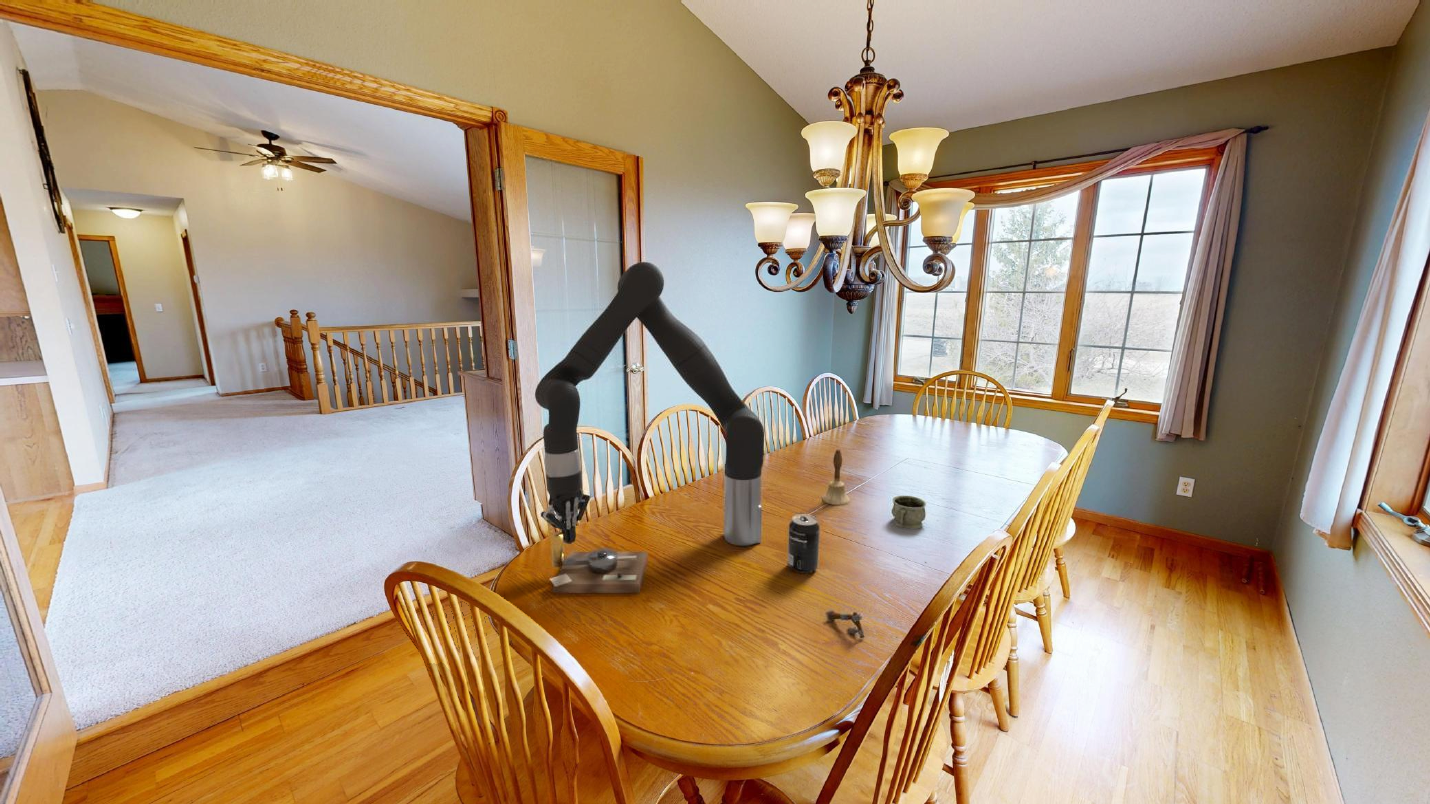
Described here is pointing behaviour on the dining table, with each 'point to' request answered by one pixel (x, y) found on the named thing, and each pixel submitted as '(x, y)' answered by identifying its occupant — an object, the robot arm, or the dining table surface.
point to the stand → (602, 576)
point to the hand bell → (836, 485)
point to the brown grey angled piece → (857, 617)
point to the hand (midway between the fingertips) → (569, 542)
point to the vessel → (908, 511)
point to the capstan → (596, 559)
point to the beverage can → (803, 543)
